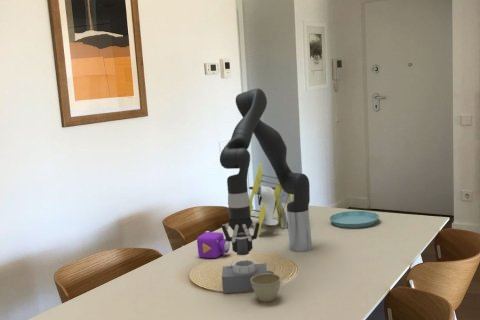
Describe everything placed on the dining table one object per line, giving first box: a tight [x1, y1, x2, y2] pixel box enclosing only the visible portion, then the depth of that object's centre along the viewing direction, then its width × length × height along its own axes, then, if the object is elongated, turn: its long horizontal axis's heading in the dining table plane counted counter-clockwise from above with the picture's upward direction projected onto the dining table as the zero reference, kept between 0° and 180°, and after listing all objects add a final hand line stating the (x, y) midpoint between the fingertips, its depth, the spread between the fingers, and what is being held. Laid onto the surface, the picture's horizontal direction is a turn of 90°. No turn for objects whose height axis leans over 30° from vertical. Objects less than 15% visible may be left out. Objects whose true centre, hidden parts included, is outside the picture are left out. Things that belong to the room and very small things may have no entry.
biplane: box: [248, 161, 294, 237], centre depth 254 cm, size 39×31×20 cm
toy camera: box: [196, 230, 231, 259], centre depth 222 cm, size 11×14×10 cm
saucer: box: [329, 210, 380, 229], centre depth 256 cm, size 24×24×3 cm
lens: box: [235, 233, 250, 256], centre depth 183 cm, size 5×5×7 cm
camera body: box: [221, 259, 268, 294], centre depth 184 cm, size 16×11×8 cm
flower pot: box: [251, 273, 281, 303], centre depth 171 cm, size 10×10×7 cm
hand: (242, 251), depth 183 cm, fingers closed on lens, 4 cm apart
